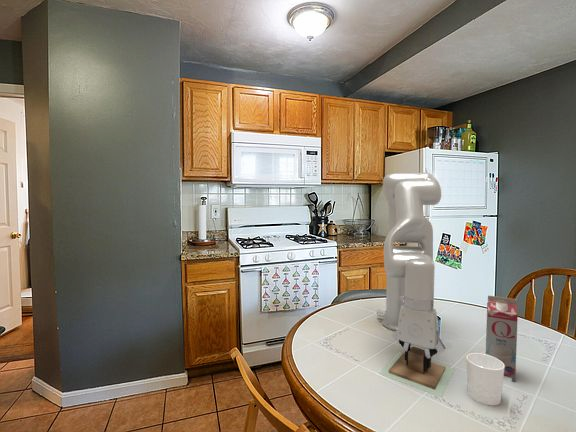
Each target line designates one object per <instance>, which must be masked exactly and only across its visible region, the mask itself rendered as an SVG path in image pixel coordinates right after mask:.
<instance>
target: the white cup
mask: <svg viewBox="0 0 576 432" xmlns="http://www.w3.org/2000/svg"><path fill="white" fill-rule="evenodd" d="M465 357H466V359H465V361H466V382H467V383H466V384H467V385H466V386H467V393H468V395H469V396H470V398H471V399H473V400H474V401H476V402H478V403H481V404H483V405H488V406H498V405H500V404H501V401H502V394H503V386H504V377H505V376H504V368H505V365H504V363H503V362H502V361H500V360H499V359H497V358H495V357H493V356H490V355H486V353H480V352H471V353H468V354H467V355H466V356H465Z"/></svg>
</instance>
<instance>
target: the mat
mask: <svg viewBox="0 0 576 432" xmlns="http://www.w3.org/2000/svg"><path fill="white" fill-rule="evenodd" d="M403 353H404V354H405V352H401V351H398V352H397V353H396V354H395V355H394V356H393V358H391V360H390V361H389V362H388V363H387V364H386V365H385V366H384V368H383V369H382V370H381V371H380V372H379V373H378V374H379V375H381V376H384V377H387V378H389V379H391V380H394V381H397V382H399V383H402V384H404V385H407V386H410V387H414V388H416V389H419V390H421V391H424V392H427V393H428V394H432V395H434V396H437V397H440V398H443V395H444V393H445V391H446V389H447V387H448V385H449V382H450V381H451V379H452V377H453V375H454V372H455V368H453V367H449V366H446V365H443V364H440V363H436V362H434V361H432V362H433V363H436V364H439V365H442V366H445V367H446V368H445V371H444V373H443V375H442V377H441V379H440V381H439V383H438V385H437V387H436V388H435V390H434V389H432V388H429V387H426V386H423V385H421V384H418V383H415V382H413V381H410V380H407V379H404V378H402V377H399V376H396V375H393V374H391V373H389V369H390V368H391V367H392V366H393V364H394V363H395V362H396V361H397V360H398V359H399V357H400V356H401V355H402V354H403Z"/></svg>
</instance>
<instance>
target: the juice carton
mask: <svg viewBox="0 0 576 432" xmlns="http://www.w3.org/2000/svg"><path fill="white" fill-rule="evenodd" d="M517 303H518V299H516V298H510V297H502V296H496V295H487V303H486V333H485V334H486V336H485V354H486V355H490V356H493V357H495V358H497V359H499V360H500V361H502V362H503V363H504V365H505V368H504V377H507V378H511V382H513V383H516V373H517V372H516V371H517V369H516V368H517V345H518V343H517V341H518V340H517V339H518V320H519V319H518V317H519V316H518V306H517Z"/></svg>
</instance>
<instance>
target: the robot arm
mask: <svg viewBox="0 0 576 432" xmlns="http://www.w3.org/2000/svg"><path fill="white" fill-rule="evenodd" d="M382 189H383V194H384V197H385V200H386V202H387V206H388V233H387V235H386V237H385V239H384V243H383V265H384V271H385V274H386V290H385V291H386V292H385V295H386V299H385V304H386V305H385V310H381V309H377V310H376V315H377V317H380V318H382V319H381V325H382V326H384V327H385V328H387V329H389V330H391V331H394V333H393V335H392V337H393V338H394V339H395V340H396V341H398V343H399V344H400V346H401V347H402V350H403V351H404V353H405V360H406V365H407V366H408V351H409V350H410V349H411V348H412V346H413V345H414V346H415V347H416V346H417V347H418V348H419V347H420V348H422V349H423V348H424V350H425V357H424V371H425V372H426V371H427V370H428V368H430V367H431V362H432V357H434V356H435V355H437V354H439V353H442V352H445V351H446V347H445V345H444V343H443V341H442V339H441V337H440V335H439V333H440V330H439V320H438V314H437V310H436V309H435V308H434V306H435V305H434V304H435V302H434V301H435V298H434V297H435V261H434V229H433V225H432V223H431V221H430V220H428V219H427V218H425V214H424V207H423V206H435V205H436V206H437V205H438V204H439V203H440V201H441V199H442V188H441V185H440V182H439V181H438V180H437V179H436V177H435V176H434V175H433V174H432V173H430V172H396V173H389V174H386V175H385V176H384V177H383V180H382ZM394 243H406V244H408V243H409V244H410V243H411V244H418V245H419V246H416V245H415V246H410V245H394Z"/></svg>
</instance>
